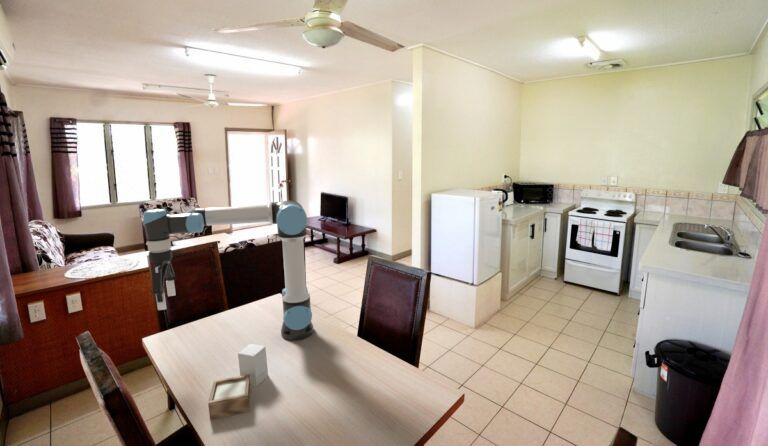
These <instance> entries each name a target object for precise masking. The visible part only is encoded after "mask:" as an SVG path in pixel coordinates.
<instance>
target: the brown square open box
mask: <svg viewBox="0 0 768 446" xmlns="http://www.w3.org/2000/svg"><path fill="white" fill-rule="evenodd" d="M251 393H252V385H251V383H250V374H249V375H243V376H240V375H239V376H233V377H228V378H221V379H216V380H213V382H212V385H211V389H210V394H209V399H208V402H207V405H208V412H209V413H208V414H209V420H216V419H220V418H225V417H230V416H234V415H241V414H245V413H250V407H251V397H252V396H251Z"/></svg>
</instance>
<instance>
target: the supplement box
mask: <svg viewBox="0 0 768 446" xmlns="http://www.w3.org/2000/svg"><path fill="white" fill-rule="evenodd" d="M266 347H267V346H265V345H260V344H254V343H250V344H249V343H248V345H246V346H245V347H244V348H242V349H241V350H240V351H239V352H238V353H237V356H238V357H237V359H238V367H239V368H238V369H239V376H243V375H249V374H250V383H251V387H252V386H253V387H258V386H260V384H261V383H262V382H263V381H264V380H266V378H267V377H268V376H269V371H268V358H267V349H266Z"/></svg>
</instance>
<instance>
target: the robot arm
mask: <svg viewBox="0 0 768 446" xmlns="http://www.w3.org/2000/svg"><path fill="white" fill-rule="evenodd" d="M255 223H256V224H258V223H259V224H260V223H270V224H272V225H275V224H276V226H277V237H278V238H279V239H280V240H281V243H282V258H283V270H284V272H283V273H284V286H285V287H284V288H282V290H281V291H282V292H281V293H282V294H281V296H282V297H281V298H282V310H283V311H282V312H283V313H282V314H283V317H282V319H283V322H282V325H281V329H280V336H281V337H282V338H283V339H285V340H287V341H301V340H304V339H306V338H309V337H310V336H311V335H313V333H314V325H313V322H312V319H313V312H312V309H311V294H310V293H309V291H308V287H307V285H306V284H307V281H306V266H305V265H306V264H305V249H304V247H305V244H304V238H305V237H307V235H308V234H307V232H308V231H307V223H308V216H307V213H306V210H305V209H304V208H303V205H301V204H300V203H299V202H298V201H294V200H283V201H275V202H274V201H272V202H270V203H269V204H260V205H258V204H257V205H240V206H221V207H220V206H219V207H217V206H216V207H202V208H200V207H197V206H196V207H195V206H194V207H190V208H188V209H186V210H185V211H184V212H182V213H178V214H177V213H176V214H171V213H170V214H168V213H167V210H166V209H164V208H163V209H162V208H161V209H160V208H158V209H157V208H155V209H149V210H146V211H144V212H143V226H144V230H145V236H146V243H145V245H146V246H147V251H149V252H148V258H149V259H148V260H149V262H151V263H155V266H153V267H152V273H153V274H152V295H155V300H156V306H157V310H158V311H162V310H163V311H164V310H167V303H166V302H167V301H166V295H165V292H164V287H165V284H166V291H167V292H166V293H167V297H174V296H176V295H177V294H176V286H175V280H176V279H177V276H176V274H175V272H174V271H175V269H174V268H173V265H172V262H171V261H172V259H173V250H172V241H171V236H170V235H177V234H180V235H181V234H182V235H183V234H195V233H201V232H203V231H204V229H205V228H204V227H208V226H223V225H225V226H226V225H238V224H239V225H240V224H241V225H242V224H255ZM165 279H166V281H165Z"/></svg>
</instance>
